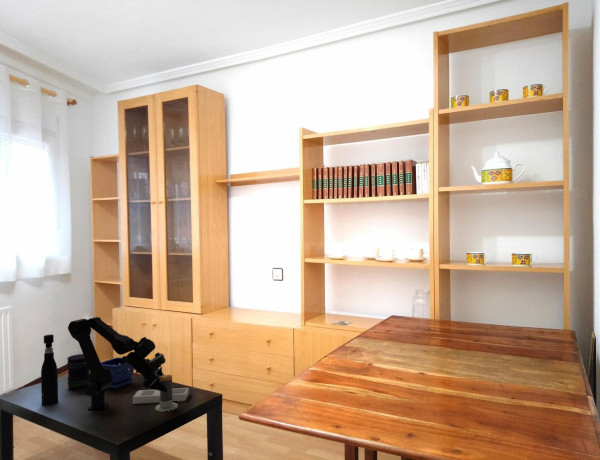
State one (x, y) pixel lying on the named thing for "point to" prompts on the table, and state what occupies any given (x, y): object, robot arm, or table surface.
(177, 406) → the rubber mat
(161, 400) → the plug
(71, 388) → the storage jar
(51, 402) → the wine bottle
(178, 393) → the power strip
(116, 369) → the flower pot
